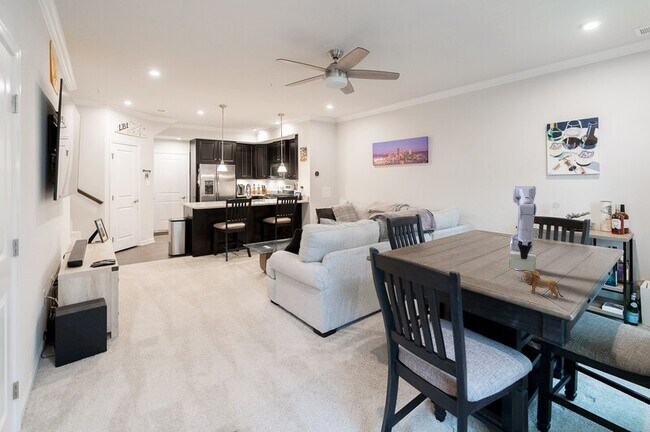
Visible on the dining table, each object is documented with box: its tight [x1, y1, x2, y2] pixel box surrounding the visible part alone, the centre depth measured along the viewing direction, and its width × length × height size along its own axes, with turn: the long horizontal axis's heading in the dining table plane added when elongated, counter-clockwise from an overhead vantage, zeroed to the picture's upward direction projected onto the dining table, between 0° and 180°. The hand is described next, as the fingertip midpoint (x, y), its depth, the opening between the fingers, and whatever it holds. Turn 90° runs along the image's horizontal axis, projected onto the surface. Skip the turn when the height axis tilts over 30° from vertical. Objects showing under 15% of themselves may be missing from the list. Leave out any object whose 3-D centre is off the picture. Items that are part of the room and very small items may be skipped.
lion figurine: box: [521, 270, 564, 300], centre depth 129 cm, size 15×5×9 cm, turn 52°
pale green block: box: [508, 250, 537, 271], centre depth 148 cm, size 10×8×7 cm
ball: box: [530, 269, 541, 278], centre depth 146 cm, size 5×5×5 cm
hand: (523, 257), depth 148 cm, fingers closed on pale green block, 6 cm apart
